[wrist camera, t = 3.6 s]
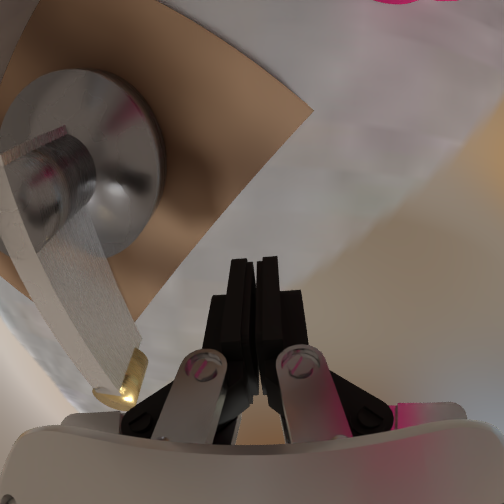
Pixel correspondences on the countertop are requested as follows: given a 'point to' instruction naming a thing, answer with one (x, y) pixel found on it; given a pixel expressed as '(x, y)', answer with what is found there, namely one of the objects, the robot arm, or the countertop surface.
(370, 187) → the countertop surface
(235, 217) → the countertop surface
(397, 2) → the pepper mill
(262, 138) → the walnut board
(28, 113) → the dial
